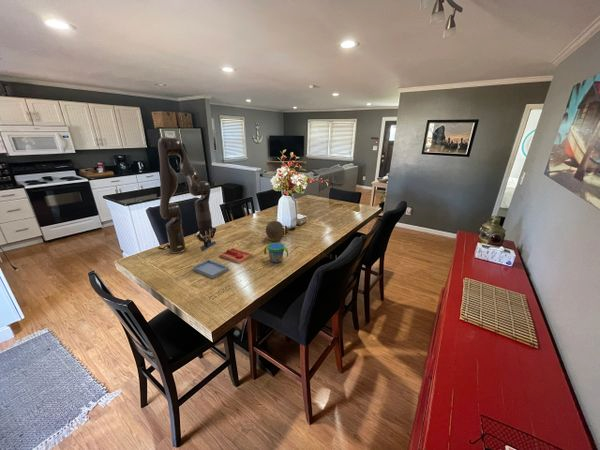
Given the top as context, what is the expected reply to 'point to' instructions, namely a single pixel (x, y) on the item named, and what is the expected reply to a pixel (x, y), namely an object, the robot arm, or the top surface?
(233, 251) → the red spoon
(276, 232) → the brown ball
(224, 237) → the top surface
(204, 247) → the blue spoon
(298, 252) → the top surface
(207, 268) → the blue tray
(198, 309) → the top surface
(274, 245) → the snack cup
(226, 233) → the top surface
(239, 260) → the red tray
